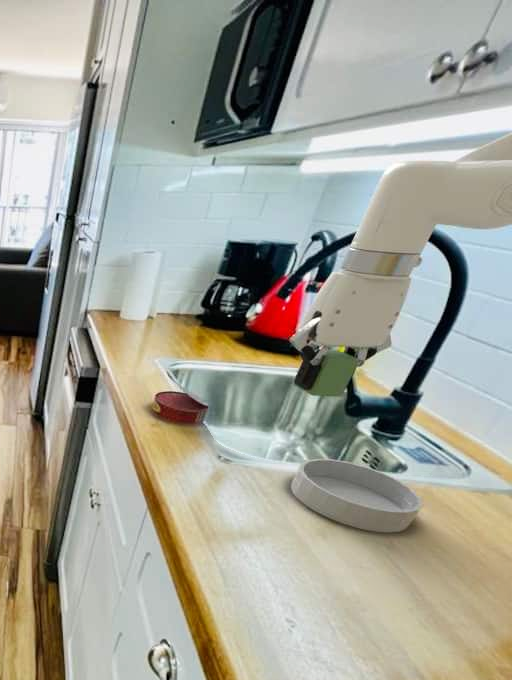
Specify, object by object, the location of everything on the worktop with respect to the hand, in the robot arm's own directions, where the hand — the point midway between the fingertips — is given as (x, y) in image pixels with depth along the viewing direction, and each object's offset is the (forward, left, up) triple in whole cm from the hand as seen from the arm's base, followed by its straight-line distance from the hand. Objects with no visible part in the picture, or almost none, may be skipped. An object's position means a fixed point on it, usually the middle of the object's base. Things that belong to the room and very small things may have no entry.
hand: (318, 386), depth 75 cm
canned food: (+10, -18, -14) cm, 25 cm away
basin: (-2, +12, -14) cm, 18 cm away
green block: (0, 0, -1) cm, 1 cm away
